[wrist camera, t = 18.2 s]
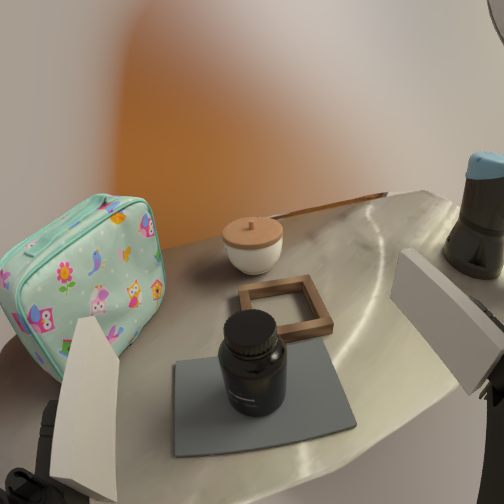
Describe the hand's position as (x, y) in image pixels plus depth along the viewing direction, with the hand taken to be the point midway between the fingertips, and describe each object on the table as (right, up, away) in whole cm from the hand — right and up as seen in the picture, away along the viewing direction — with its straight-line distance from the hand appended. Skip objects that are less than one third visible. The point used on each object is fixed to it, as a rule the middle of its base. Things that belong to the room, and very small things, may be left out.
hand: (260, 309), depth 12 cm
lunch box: (-22, -11, +31) cm, 40 cm away
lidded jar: (0, -1, +45) cm, 45 cm away
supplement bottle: (0, -15, +21) cm, 25 cm away
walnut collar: (+4, -7, +33) cm, 34 cm away
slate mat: (0, -15, +21) cm, 26 cm away
